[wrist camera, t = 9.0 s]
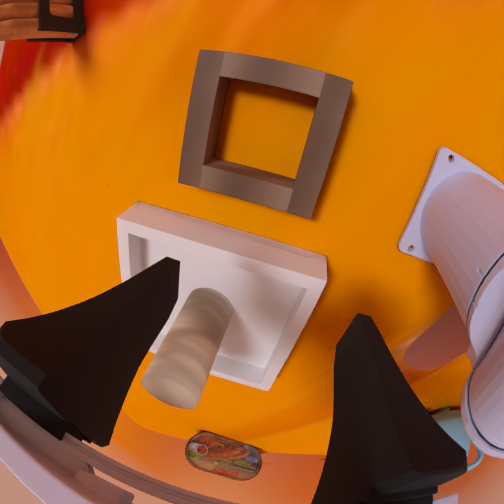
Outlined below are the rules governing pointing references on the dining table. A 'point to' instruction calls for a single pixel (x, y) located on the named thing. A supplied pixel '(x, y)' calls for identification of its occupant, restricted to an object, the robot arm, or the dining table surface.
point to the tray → (230, 284)
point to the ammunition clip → (42, 20)
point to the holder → (244, 177)
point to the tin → (223, 456)
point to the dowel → (189, 349)
